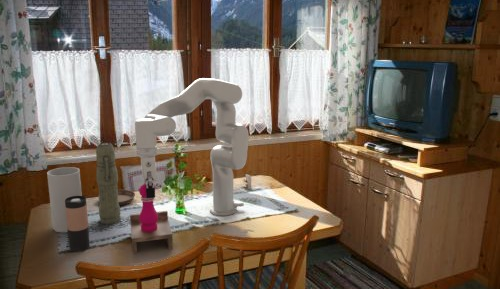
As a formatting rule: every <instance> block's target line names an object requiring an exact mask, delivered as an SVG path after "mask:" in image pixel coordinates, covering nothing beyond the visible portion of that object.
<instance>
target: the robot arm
mask: <svg viewBox="0 0 500 289" xmlns="http://www.w3.org/2000/svg"><path fill="white" fill-rule="evenodd" d="M242 98H243V91H242V88H241V86H239V85H238V84H236V83H232V82H228V81H224V80H221V79H218V78H217V79H216V78H207V77H206V78H205V77H202V78H198V79H196V80H194V81H193V82H192V83H191V84H190V85H189V86H188V87H186V88H185V89H184V90H183V91H181V93H179V95H177V96H174V97H171V98H169V99H168V100H166V101H163V102H160V103H159V104H158V105H156V106H155V107H153V108H152V109H151V110H150V111H148V113H146V114H145V116H144V117H143V118H139V119H136V120H135V122H134V133H135V145H136V156H137V157H139V158H140V165H141V166H140V167H141V174H142V178H143V182H146V187H147V188H146V196H147V198H154V199H155V198H156V188H155V182H157V181H158V177H157V176H158V175H157V165H156V156H157V155H158V148H157V147H158V145H157V137H166V136H169V135H172V134H173V133H175V131H176V130H177V122H176V121H175V120H174V119H173V117H177V116H182V115H187V114H191V113H192V112H193V111H194V110H195V109H197V108H198V107H199V106H200V105H201V104H202V103H204V101H205V100H211V101H212V103H213V104H214V105H215V108H216V124H215V138H216V140H217V141H219V142H221V143H225V144H231V145H224V144H218V145H215V146H214V147H212V149H211V150H210V157H209V158H210V162H211V168H212V169H211V170H212V202H213V203H212V206H210V208H209V212H210V213H211V214H213V215H215V216H224V217H225V216H231V215H234V214H235V213H236V212H238V207H244V205H245V204H244V202H243V201H239V200H238V201H235V200H234V172H233V170H241V169H243V168H244V166H245V165H246V163H247V158H248V149H249V148H248V147H249V139H250V138H249V136H250V135H249V129H248V128H247V126H245V124H241V123H236V121H237V120H236V119H237V118H236V117H237V116H236V115H237V111H236V107H235V104H237V103H239V102H241V100H242ZM154 181H155V182H154Z"/></svg>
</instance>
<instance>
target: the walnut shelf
mask: <svg viewBox="0 0 500 289" xmlns="http://www.w3.org/2000/svg"><path fill="white" fill-rule="evenodd" d="M156 212H157V215H158V221H157V222H156V223H157V229H156V230H155V231H152V232H144V231H142V230H141V223H140V221H139V216H140V213H134V214H133V213H131V214H130V215H129V216H130V218H129V219H130V233H131V236H132V237H131V247H132V254H137V253H138V252H137V251H138V249H137V243H138V242H139V243H140V242H147V241H156V240H164V239H165V240H166V243H167V247H168V249H169V250H173V249H174V247H173V246H174V243H173V242H174V241H173V240H174V239H173V232H172V228H171V225H170V221H169V214H168V210H162V211H161V210H160V211H156Z"/></svg>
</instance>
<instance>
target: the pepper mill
mask: <svg viewBox="0 0 500 289" xmlns="http://www.w3.org/2000/svg"><path fill="white" fill-rule="evenodd" d="M143 182H144V181H143ZM146 188H147V187H146V182H144V184H141V186H140V187H139V195H140V200H141V201H142V202H141V204H142V208H141V211H140V213H139V214H140V216H139V221H140V223H141V230H142V231H144V232H152V231H155V230H156V229H157V223H156V222H157V221H158V215H157V212H158V211H157V210H156V208H155V205H154V200H155V198H147V196H146Z"/></svg>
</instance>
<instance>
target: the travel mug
mask: <svg viewBox="0 0 500 289" xmlns="http://www.w3.org/2000/svg"><path fill="white" fill-rule="evenodd" d="M87 204H88V203H87V197H86V196H84V195H82V196H72V197H68V198H66V199H65V208H66V220H67V230H68V232H67V236H68V244H69V250H70V251H71V252H75V253H76V252H77V253H81V252H84V251H87V250H88V249H89V248H90V246H91V245H90V228H89V218H88V217H89V216H88V207H87V206H88V205H87Z"/></svg>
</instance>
